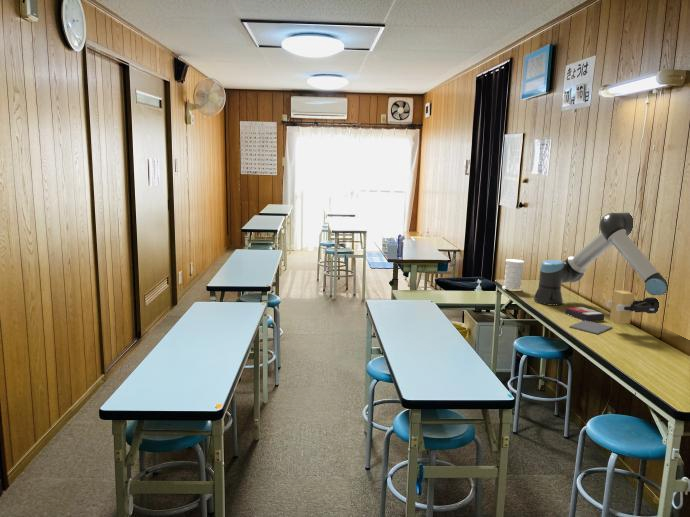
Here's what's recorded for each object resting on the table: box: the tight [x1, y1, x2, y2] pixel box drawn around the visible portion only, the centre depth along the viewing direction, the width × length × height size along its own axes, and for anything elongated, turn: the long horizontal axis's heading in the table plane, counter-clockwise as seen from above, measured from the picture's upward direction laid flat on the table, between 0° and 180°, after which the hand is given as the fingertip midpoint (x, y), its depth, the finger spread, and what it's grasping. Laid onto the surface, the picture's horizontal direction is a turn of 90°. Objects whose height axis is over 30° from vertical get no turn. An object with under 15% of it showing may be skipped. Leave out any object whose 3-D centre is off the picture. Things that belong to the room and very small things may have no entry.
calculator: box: [565, 306, 605, 322], centre depth 273 cm, size 11×4×15 cm
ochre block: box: [609, 290, 635, 324], centre depth 248 cm, size 6×6×14 cm
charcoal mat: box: [569, 320, 613, 335], centre depth 255 cm, size 17×13×1 cm
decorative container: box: [501, 258, 525, 291], centre depth 327 cm, size 12×12×18 cm
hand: (612, 305), depth 247 cm, fingers closed on ochre block, 6 cm apart
